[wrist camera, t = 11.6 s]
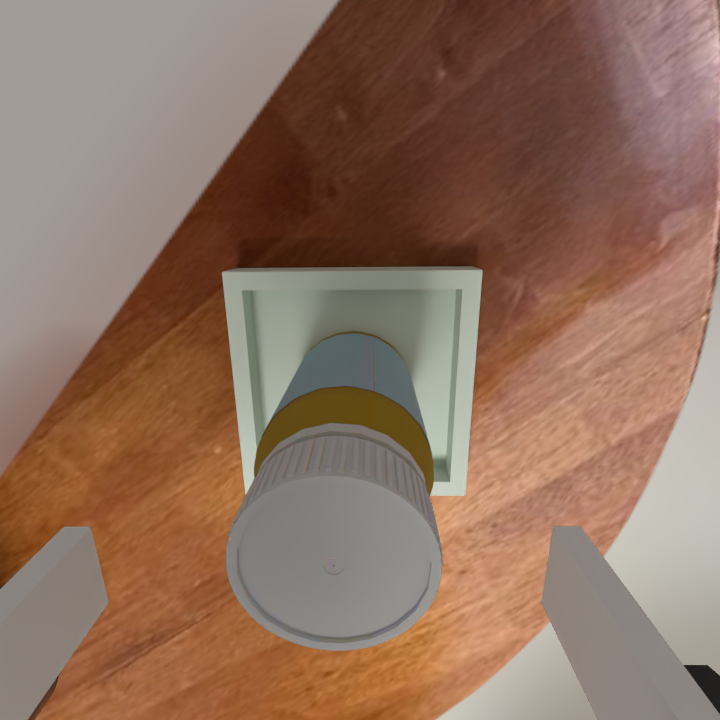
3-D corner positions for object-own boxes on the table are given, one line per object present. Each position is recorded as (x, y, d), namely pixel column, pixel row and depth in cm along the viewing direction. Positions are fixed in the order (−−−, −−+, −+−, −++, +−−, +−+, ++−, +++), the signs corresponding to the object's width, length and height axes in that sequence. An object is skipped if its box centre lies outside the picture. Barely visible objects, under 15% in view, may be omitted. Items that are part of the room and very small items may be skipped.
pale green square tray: (255, 472, 29) (245, 494, 27) (236, 267, 25) (221, 271, 22) (457, 473, 29) (465, 495, 26) (471, 266, 24) (482, 270, 22)
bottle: (309, 317, 25) (225, 433, 10) (423, 343, 25) (492, 491, 11) (289, 420, 27) (196, 637, 12) (394, 443, 27) (421, 680, 13)
